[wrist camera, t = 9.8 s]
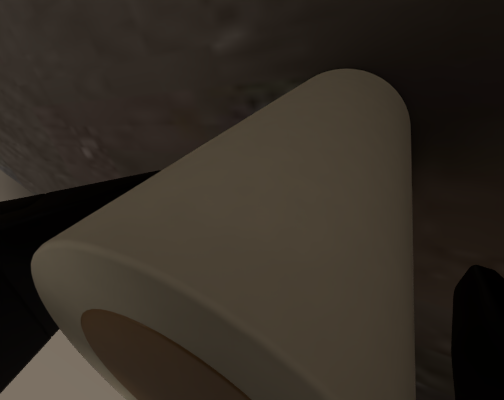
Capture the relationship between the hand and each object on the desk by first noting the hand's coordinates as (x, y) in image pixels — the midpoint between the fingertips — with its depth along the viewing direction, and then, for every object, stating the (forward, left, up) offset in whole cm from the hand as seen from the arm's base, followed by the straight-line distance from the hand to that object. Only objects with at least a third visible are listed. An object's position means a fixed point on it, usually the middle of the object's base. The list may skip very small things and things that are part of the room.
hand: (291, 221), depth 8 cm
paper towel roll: (0, +3, -1) cm, 3 cm away
